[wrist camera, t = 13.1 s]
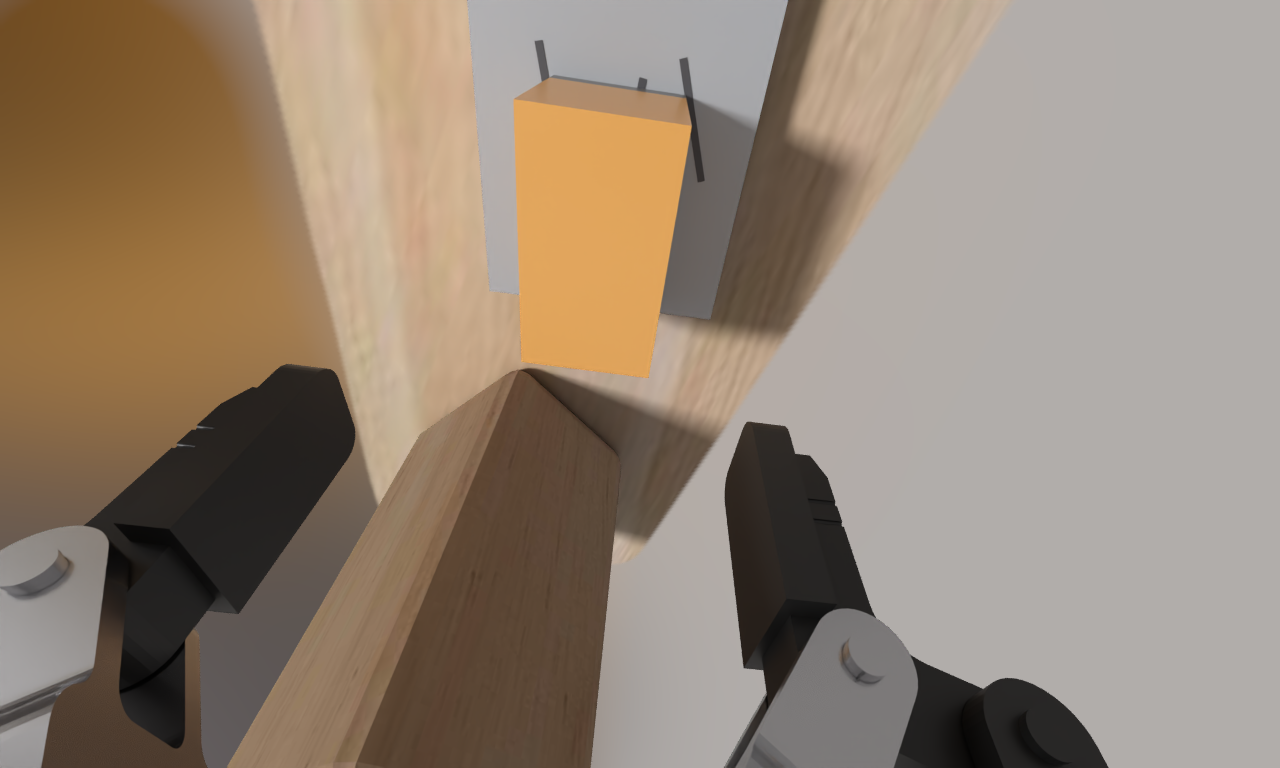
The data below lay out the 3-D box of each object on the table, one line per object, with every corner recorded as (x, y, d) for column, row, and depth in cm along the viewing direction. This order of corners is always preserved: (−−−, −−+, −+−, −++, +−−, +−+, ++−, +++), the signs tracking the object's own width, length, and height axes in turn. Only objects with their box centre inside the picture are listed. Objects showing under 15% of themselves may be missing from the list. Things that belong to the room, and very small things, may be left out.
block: (628, 455, 33) (591, 872, 17) (525, 508, 37) (419, 884, 21) (520, 357, 28) (333, 805, 12) (417, 430, 32) (175, 837, 16)
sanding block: (553, 75, 18) (513, 98, 13) (685, 95, 18) (691, 125, 14) (550, 290, 24) (521, 361, 19) (652, 304, 24) (648, 378, 19)
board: (453, -420, 13) (431, -464, 12) (861, -344, 13) (881, -379, 12) (498, 277, 25) (489, 291, 24) (708, 305, 25) (710, 319, 24)
